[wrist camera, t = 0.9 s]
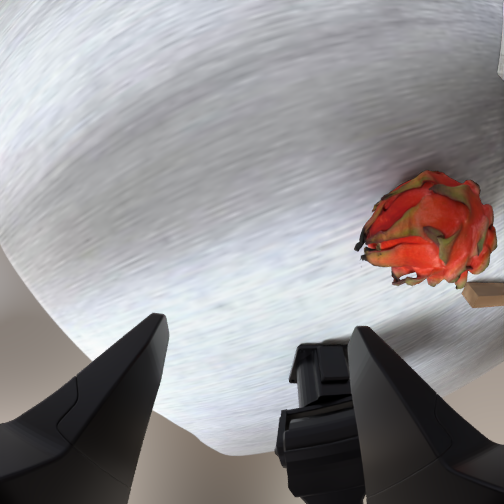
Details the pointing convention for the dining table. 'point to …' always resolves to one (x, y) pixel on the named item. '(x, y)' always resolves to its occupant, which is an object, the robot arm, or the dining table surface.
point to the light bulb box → (501, 53)
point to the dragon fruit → (430, 231)
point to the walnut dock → (484, 294)
